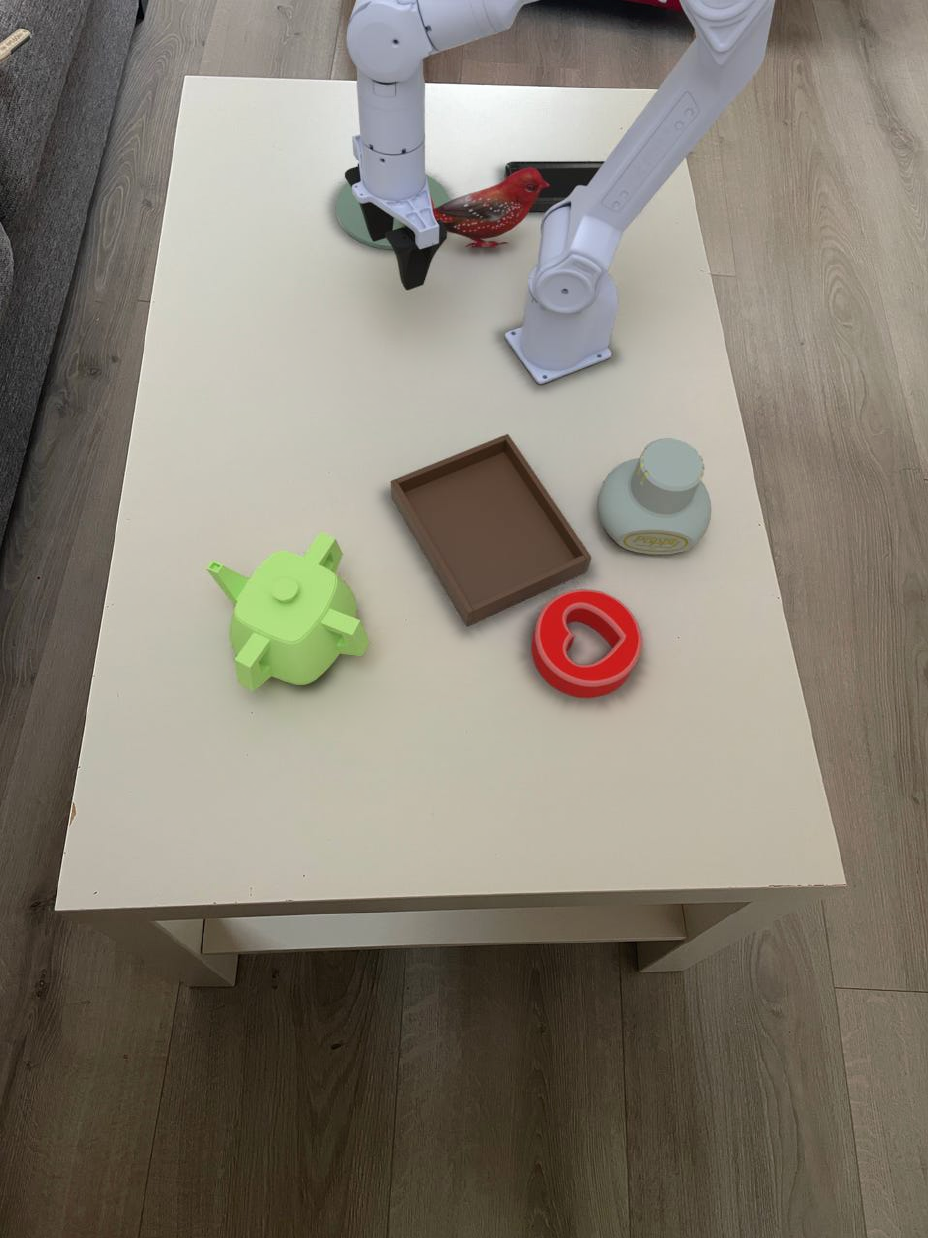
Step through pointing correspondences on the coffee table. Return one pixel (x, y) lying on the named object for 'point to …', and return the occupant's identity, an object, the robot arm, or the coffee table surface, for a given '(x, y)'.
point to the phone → (557, 178)
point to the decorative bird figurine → (492, 208)
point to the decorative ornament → (557, 639)
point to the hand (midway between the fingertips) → (397, 260)
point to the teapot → (291, 615)
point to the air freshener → (657, 499)
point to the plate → (354, 218)
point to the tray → (489, 528)
